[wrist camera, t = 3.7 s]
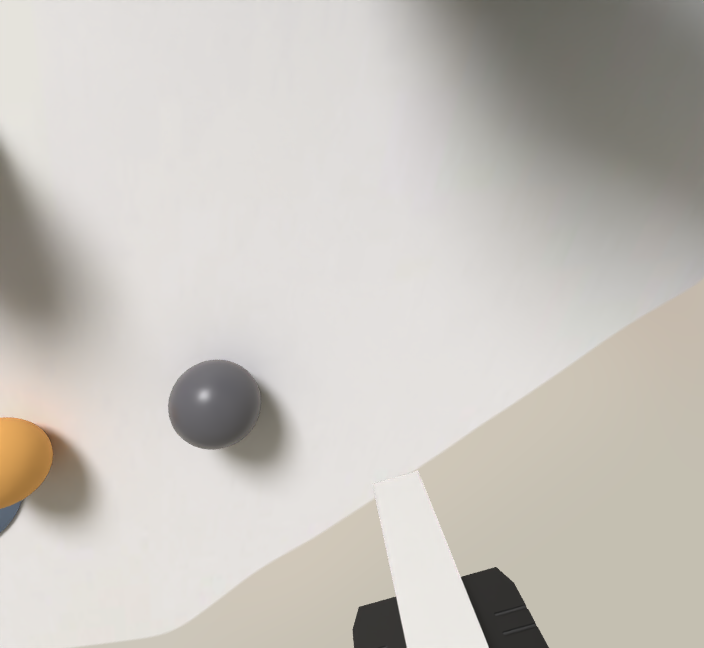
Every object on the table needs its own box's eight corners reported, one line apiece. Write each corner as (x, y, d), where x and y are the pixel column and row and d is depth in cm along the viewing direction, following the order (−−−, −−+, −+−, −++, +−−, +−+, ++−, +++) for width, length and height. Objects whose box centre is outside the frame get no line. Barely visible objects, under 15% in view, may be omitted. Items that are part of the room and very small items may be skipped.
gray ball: (172, 360, 28) (138, 395, 22) (251, 339, 28) (236, 368, 22) (200, 430, 29) (175, 478, 24) (275, 410, 29) (266, 453, 24)
